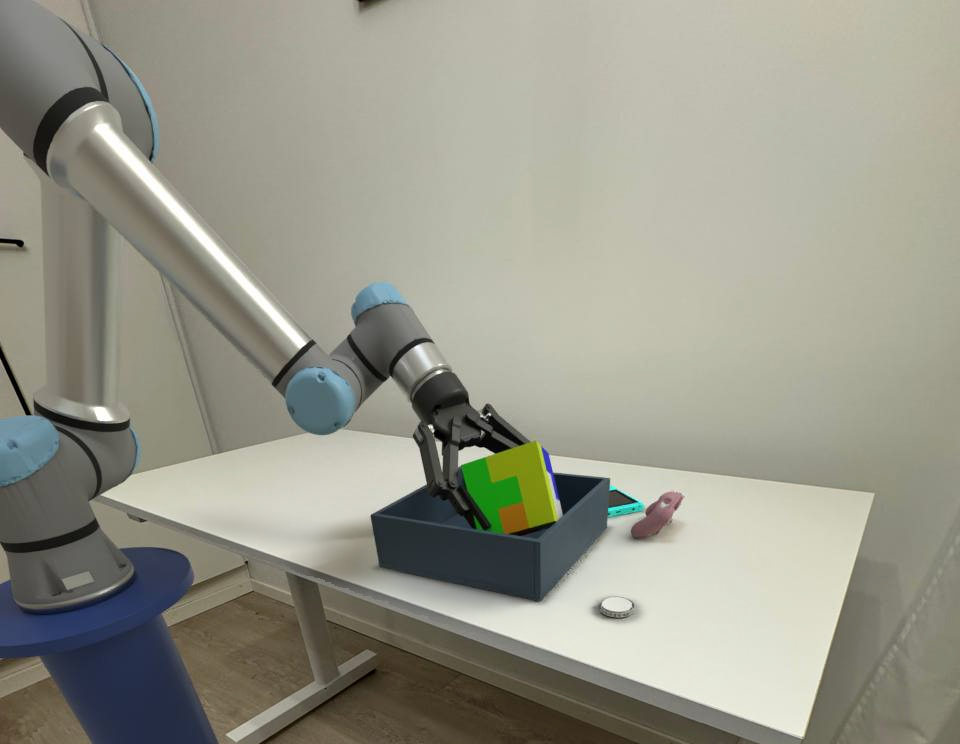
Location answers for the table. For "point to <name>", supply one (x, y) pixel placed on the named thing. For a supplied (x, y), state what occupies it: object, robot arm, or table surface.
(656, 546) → the table surface
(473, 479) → the puzzle toy
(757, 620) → the table surface
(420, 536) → the bin
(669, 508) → the video game controller
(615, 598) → the white grey disc
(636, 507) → the handheld game console
